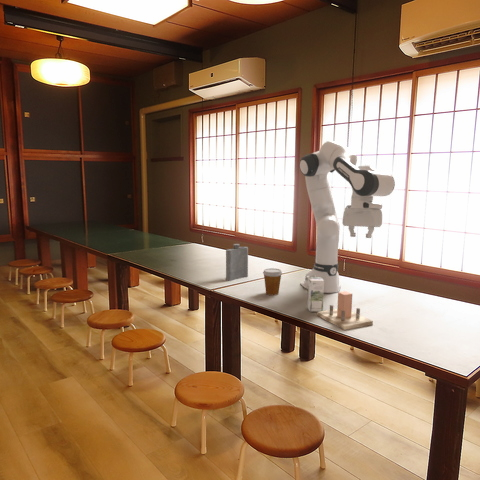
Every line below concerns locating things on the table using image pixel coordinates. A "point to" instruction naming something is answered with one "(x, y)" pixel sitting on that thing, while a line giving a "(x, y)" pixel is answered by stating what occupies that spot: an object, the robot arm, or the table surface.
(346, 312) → the terracotta block
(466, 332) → the table surface
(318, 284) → the syrup box
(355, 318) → the peg board
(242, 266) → the hip flask
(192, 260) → the table surface
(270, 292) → the disposable coffee cup
